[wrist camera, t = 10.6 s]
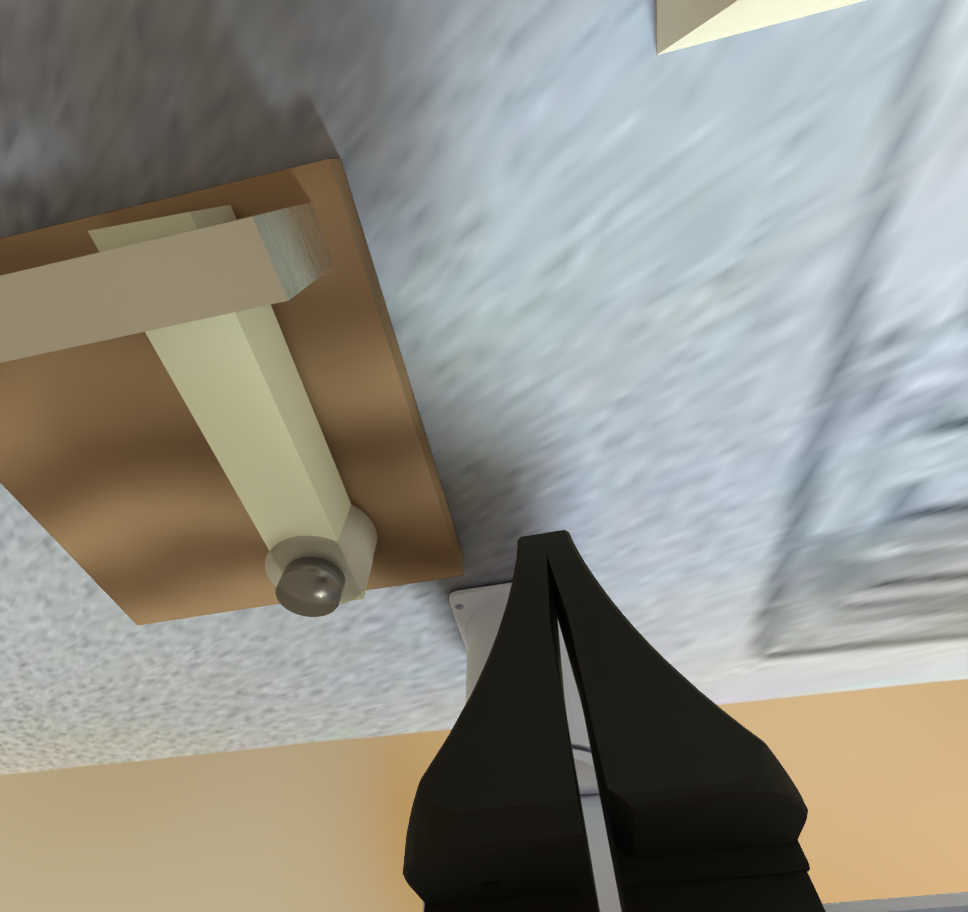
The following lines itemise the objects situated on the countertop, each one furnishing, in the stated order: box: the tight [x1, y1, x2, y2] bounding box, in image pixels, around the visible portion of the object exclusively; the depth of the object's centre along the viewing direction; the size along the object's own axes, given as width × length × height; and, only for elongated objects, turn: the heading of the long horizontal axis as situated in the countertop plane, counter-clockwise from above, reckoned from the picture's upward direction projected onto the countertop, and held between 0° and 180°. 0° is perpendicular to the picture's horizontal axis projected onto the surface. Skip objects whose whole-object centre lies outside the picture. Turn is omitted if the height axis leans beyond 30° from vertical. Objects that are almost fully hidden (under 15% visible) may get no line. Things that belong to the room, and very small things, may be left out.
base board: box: [0, 159, 463, 625], centre depth 21 cm, size 19×19×2 cm
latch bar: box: [88, 205, 377, 604], centre depth 18 cm, size 16×4×2 cm, turn 9°
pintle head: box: [275, 557, 345, 617], centre depth 19 cm, size 3×3×1 cm
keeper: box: [0, 202, 334, 363], centre depth 14 cm, size 2×8×5 cm, turn 101°
